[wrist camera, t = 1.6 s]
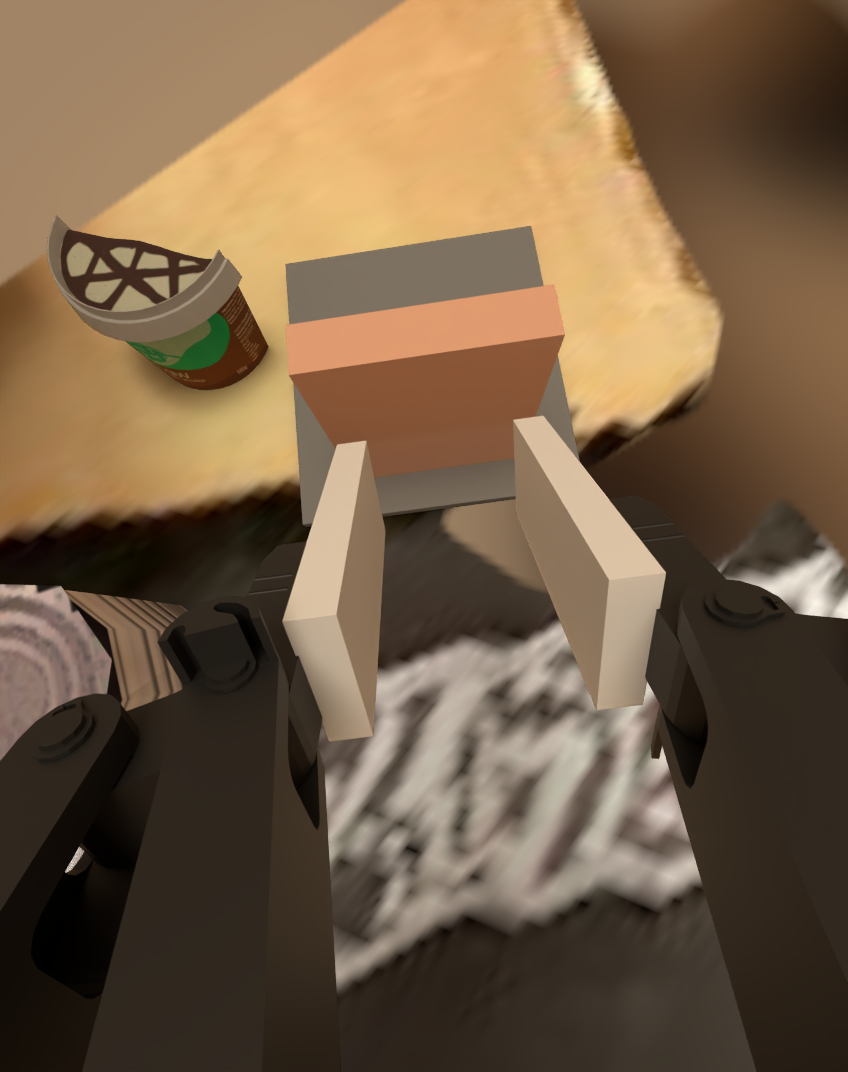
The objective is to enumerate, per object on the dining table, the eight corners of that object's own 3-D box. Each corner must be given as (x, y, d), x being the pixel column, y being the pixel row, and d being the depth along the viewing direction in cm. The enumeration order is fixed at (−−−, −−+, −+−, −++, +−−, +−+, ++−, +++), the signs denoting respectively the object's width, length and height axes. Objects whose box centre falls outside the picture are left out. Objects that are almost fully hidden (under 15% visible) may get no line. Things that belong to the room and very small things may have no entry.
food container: (118, 384, 38) (3, 297, 29) (148, 318, 40) (47, 213, 30) (259, 420, 37) (188, 340, 27) (285, 350, 38) (227, 251, 28)
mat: (306, 527, 35) (302, 524, 34) (288, 271, 40) (285, 264, 39) (581, 489, 34) (584, 486, 33) (529, 234, 39) (531, 225, 38)
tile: (355, 480, 34) (289, 375, 21) (351, 442, 35) (285, 316, 21) (521, 457, 34) (564, 334, 20) (514, 419, 35) (552, 275, 21)
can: (227, 770, 32) (93, 846, 20) (62, 775, 32) (-162, 852, 20) (235, 597, 34) (119, 574, 22) (82, 604, 35) (-108, 586, 23)
